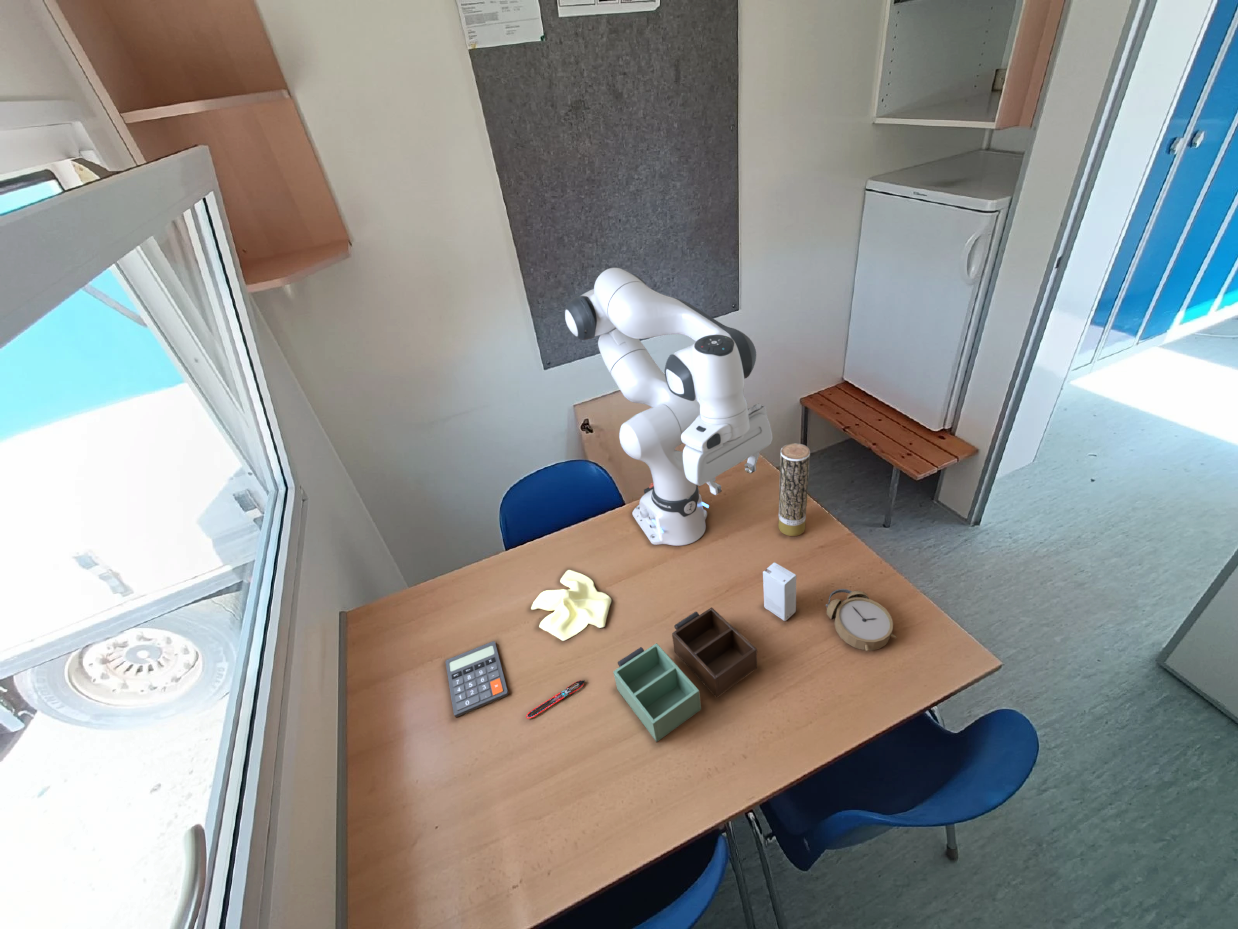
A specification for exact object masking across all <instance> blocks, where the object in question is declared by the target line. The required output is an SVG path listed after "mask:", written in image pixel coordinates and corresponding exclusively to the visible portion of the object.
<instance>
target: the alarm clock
mask: <svg viewBox="0 0 1238 929" xmlns="http://www.w3.org/2000/svg"><path fill="white" fill-rule="evenodd" d="M840 593H847V596H846V599H844V600H841V599H840V598H835V599H832V600H831V598H832V597H833V596H834V595H836V594H840ZM825 607H826V615H827V617H828V618H829V619H830V620H833V619H834V623H833V624H834V628H835V632H836V633H837V635H838V636H839V638H840V639H841V640H843V641H844V643H845V644H848V645H849V646H851V647H853V648H855V649H858V650H862V651H866V652H869V651H875V650H879V649H881V648H883V647H884V646H885V645H887V643H888V642H889V640H890V638H892V639H897V636H896V635H895V634H893V630H894V621H893V617H892V615H891V614H890V612H889V611H888V610H887V608H886V607H884V606H883V605H882V604H880V603H879V602H877V601H875V600H873V599H870V597H869V596H868V594H867V593H866V592H864V591H862V590H853V591H852V590H850V589H847V588H838V589H835V590H832V592H831V593H830V594H829V596H828V602H827V603H826V604H825Z"/></svg>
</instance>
